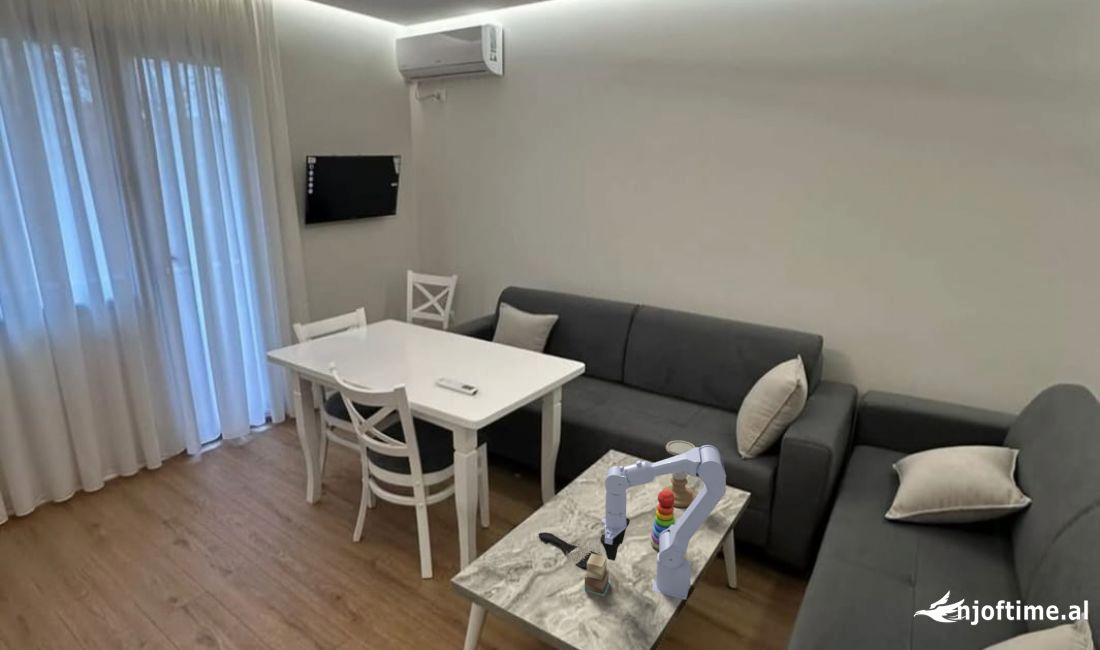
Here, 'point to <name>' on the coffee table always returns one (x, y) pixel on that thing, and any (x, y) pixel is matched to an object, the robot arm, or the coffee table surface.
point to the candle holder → (680, 476)
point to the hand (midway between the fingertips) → (615, 550)
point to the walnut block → (597, 583)
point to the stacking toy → (663, 516)
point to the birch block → (596, 566)
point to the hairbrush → (567, 548)
